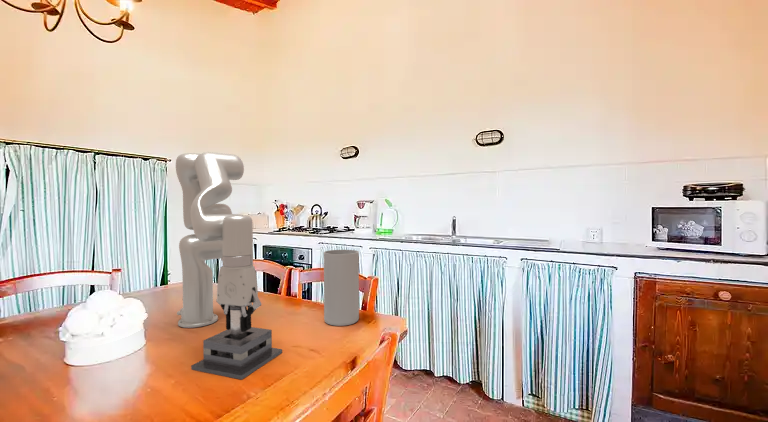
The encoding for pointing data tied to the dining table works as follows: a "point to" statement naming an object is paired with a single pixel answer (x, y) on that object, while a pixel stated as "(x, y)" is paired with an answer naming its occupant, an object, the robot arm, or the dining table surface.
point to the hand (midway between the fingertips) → (238, 328)
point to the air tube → (236, 323)
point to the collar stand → (237, 353)
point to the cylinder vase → (341, 287)
